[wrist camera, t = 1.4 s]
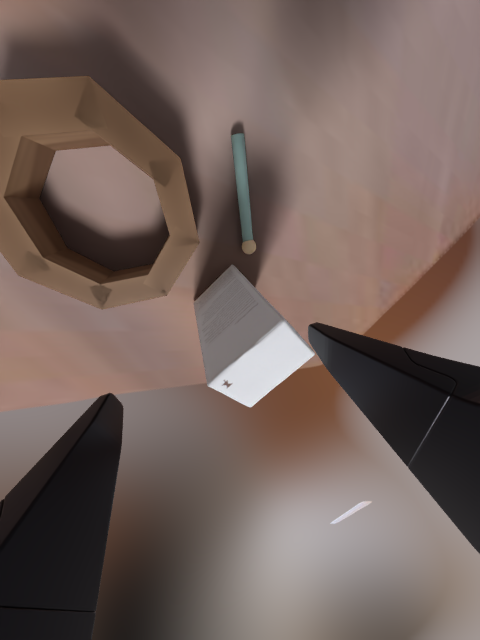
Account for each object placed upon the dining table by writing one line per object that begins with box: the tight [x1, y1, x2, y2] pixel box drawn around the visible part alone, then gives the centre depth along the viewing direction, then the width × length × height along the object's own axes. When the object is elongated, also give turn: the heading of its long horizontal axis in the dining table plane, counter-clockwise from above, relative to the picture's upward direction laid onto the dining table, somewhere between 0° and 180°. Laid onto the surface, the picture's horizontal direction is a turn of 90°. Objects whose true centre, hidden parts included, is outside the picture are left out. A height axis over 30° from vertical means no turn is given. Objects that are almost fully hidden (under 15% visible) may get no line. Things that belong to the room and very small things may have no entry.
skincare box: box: [194, 265, 315, 407], centre depth 17 cm, size 6×4×12 cm
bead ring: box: [0, 76, 199, 309], centre depth 15 cm, size 12×12×4 cm
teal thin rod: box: [231, 133, 256, 254], centre depth 17 cm, size 9×1×1 cm, turn 8°
